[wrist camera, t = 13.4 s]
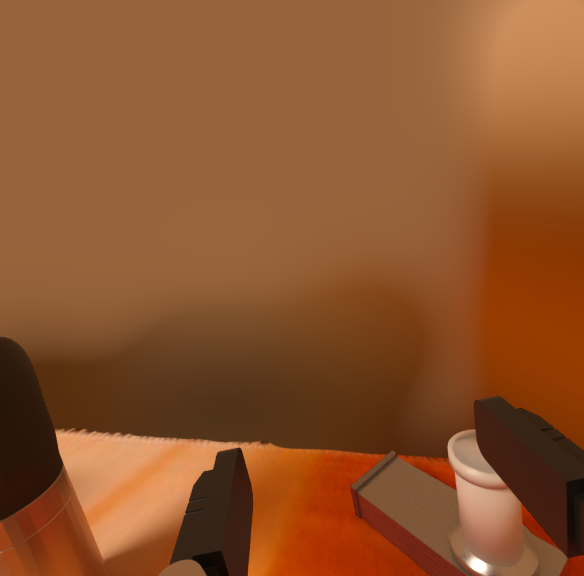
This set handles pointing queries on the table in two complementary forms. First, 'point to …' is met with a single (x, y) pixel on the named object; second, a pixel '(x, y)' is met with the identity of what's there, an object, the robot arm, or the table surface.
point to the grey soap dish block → (437, 524)
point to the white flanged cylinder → (485, 505)
